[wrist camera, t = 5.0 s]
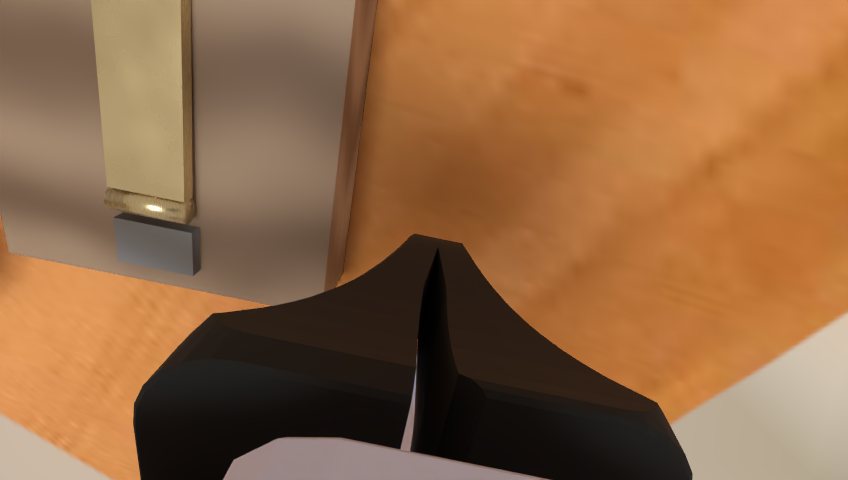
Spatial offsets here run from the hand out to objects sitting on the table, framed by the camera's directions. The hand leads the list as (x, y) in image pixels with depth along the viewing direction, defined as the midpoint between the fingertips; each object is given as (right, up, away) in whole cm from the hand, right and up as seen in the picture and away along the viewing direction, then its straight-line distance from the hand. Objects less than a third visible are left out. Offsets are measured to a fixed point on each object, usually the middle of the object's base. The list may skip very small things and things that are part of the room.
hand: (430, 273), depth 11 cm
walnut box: (-10, +9, +8) cm, 15 cm away
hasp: (-10, +7, +5) cm, 13 cm away
